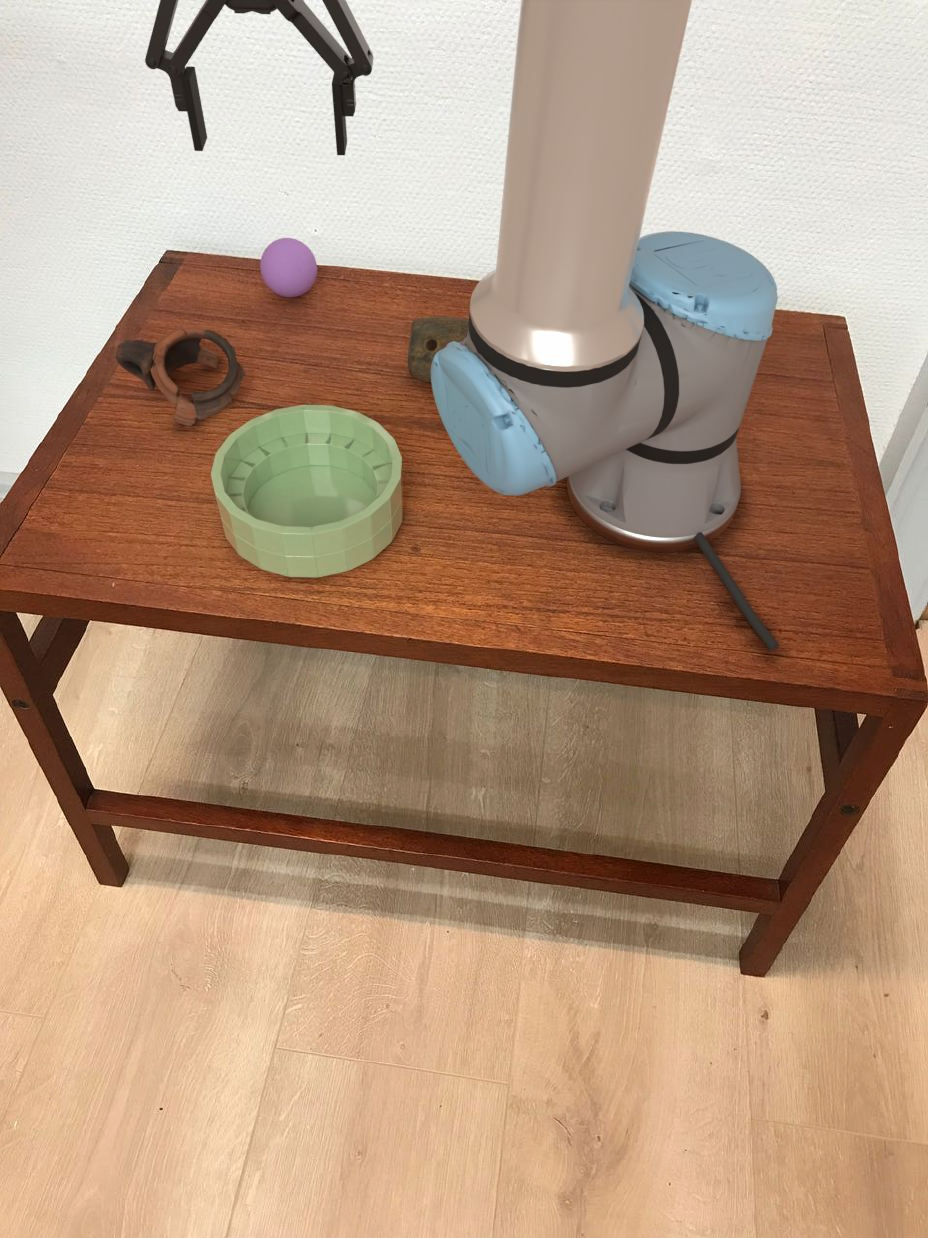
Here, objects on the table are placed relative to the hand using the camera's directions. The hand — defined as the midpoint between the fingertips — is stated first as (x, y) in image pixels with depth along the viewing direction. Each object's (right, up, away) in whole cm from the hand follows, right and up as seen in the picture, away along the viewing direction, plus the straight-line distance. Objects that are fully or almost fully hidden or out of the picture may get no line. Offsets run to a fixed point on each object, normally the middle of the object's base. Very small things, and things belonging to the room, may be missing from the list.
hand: (271, 146), depth 94 cm
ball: (0, -8, +10) cm, 13 cm away
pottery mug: (-8, -24, +1) cm, 25 cm away
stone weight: (+21, -22, +3) cm, 31 cm away
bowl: (+5, -37, -9) cm, 38 cm away
